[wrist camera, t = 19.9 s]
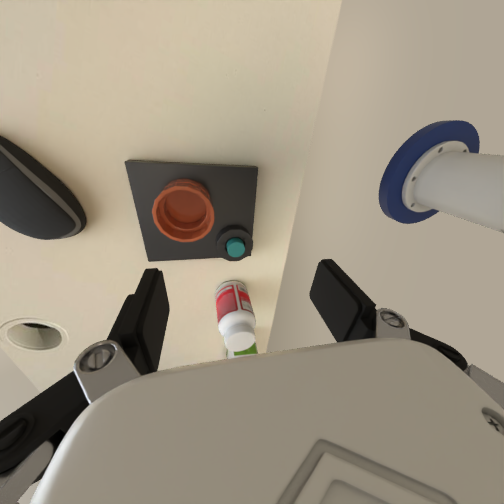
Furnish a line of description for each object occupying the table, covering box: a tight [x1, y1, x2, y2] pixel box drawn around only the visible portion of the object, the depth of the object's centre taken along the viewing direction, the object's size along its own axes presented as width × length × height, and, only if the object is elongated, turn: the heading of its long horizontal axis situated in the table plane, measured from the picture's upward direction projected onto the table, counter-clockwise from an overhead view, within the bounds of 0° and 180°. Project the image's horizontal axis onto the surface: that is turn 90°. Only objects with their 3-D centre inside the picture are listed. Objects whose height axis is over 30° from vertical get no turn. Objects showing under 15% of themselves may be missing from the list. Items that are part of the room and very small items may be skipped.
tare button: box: [226, 238, 245, 257], centre depth 30 cm, size 3×3×2 cm
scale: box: [125, 160, 258, 262], centre depth 28 cm, size 16×14×3 cm
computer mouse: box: [0, 136, 86, 240], centre depth 22 cm, size 7×12×4 cm, turn 23°
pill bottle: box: [216, 281, 256, 352], centre depth 34 cm, size 6×6×11 cm
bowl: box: [152, 179, 214, 242], centre depth 25 cm, size 7×7×5 cm
